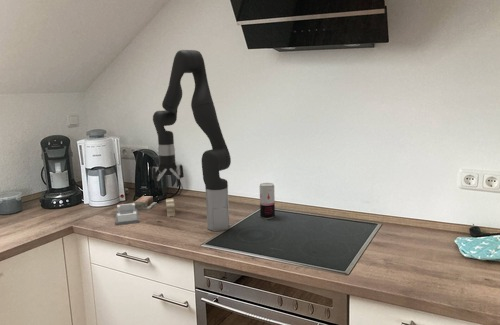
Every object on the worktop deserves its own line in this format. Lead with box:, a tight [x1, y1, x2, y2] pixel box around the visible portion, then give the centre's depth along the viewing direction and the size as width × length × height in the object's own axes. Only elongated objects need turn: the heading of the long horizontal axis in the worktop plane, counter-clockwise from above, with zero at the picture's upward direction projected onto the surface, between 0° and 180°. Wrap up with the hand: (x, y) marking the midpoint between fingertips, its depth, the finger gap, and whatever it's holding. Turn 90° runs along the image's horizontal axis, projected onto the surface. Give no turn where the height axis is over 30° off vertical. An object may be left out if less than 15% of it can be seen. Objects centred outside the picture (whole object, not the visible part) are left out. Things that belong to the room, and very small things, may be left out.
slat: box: [165, 198, 176, 218], centre depth 190 cm, size 14×4×5 cm, turn 13°
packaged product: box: [133, 195, 158, 211], centre depth 204 cm, size 18×5×10 cm
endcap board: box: [115, 202, 140, 226], centre depth 184 cm, size 19×10×4 cm, turn 18°
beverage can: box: [259, 182, 276, 220], centre depth 178 cm, size 7×7×15 cm
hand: (168, 187), depth 189 cm, fingers open, 8 cm apart
